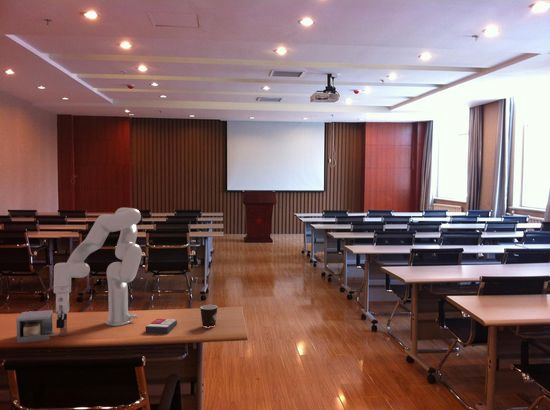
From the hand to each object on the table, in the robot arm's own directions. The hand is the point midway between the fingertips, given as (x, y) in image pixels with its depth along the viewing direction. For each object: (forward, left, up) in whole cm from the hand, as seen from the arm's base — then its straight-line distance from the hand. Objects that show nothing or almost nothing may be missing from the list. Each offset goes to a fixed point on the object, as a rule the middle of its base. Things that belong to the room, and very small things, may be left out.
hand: (61, 325), depth 221 cm
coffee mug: (-71, +5, -5) cm, 71 cm away
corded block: (+7, 0, -5) cm, 8 cm away
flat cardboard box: (-46, +3, -6) cm, 47 cm away
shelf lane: (+11, 0, -5) cm, 12 cm away
